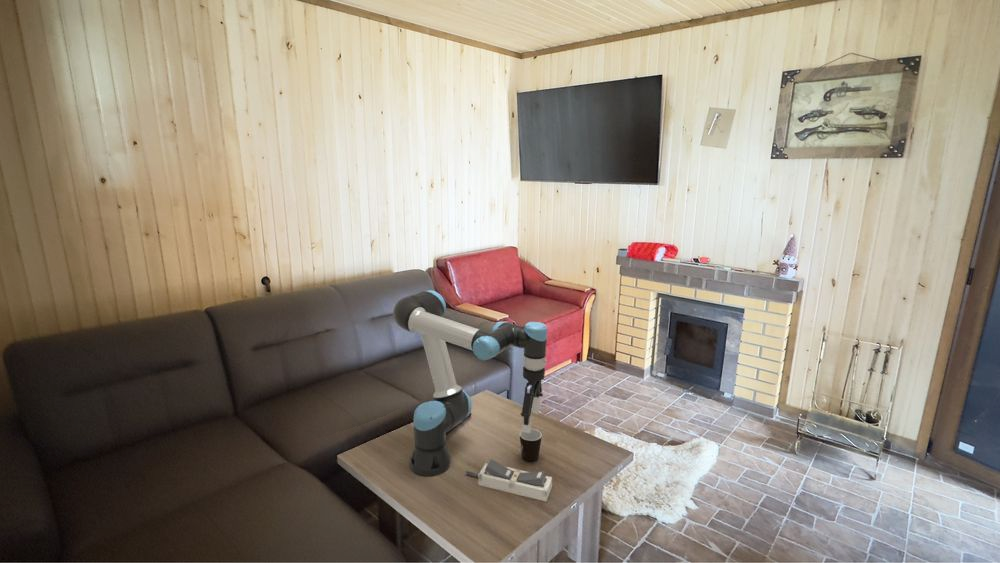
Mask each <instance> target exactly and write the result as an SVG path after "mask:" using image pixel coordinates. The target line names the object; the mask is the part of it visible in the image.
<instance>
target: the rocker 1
mask: <svg viewBox="0 0 1000 563" xmlns="http://www.w3.org/2000/svg"><path fill="white" fill-rule="evenodd" d="M487 463H488V465H487V466H486V469H485V471H486V472H488V473H490V474H492V475H494V476H495V477H499V478H503V479H508V480H509V479H510V478H511V476H512V473H513V471H512V470H510V469H508V468H507V466H504V465H503V464H501V463H499V462H497V461H495V460H493V459H490V460H489V462H487Z"/></svg>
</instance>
